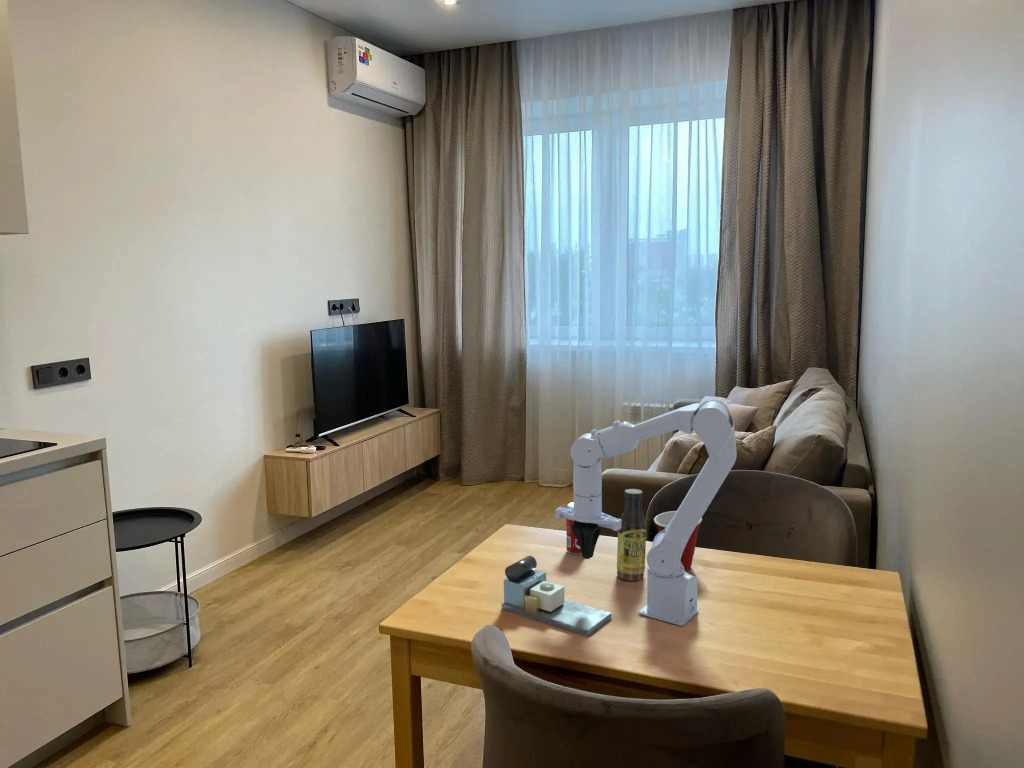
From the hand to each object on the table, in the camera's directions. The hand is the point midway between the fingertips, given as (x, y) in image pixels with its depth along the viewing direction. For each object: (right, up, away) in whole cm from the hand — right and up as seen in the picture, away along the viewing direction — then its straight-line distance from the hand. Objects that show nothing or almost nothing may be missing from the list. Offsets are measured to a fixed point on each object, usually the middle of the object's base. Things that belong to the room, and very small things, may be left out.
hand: (587, 557), depth 154 cm
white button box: (-8, -9, -2) cm, 13 cm away
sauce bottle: (+11, -8, +14) cm, 20 cm away
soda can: (0, -6, +30) cm, 30 cm away
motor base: (-7, -11, -3) cm, 13 cm away
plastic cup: (+23, -7, +19) cm, 31 cm away
